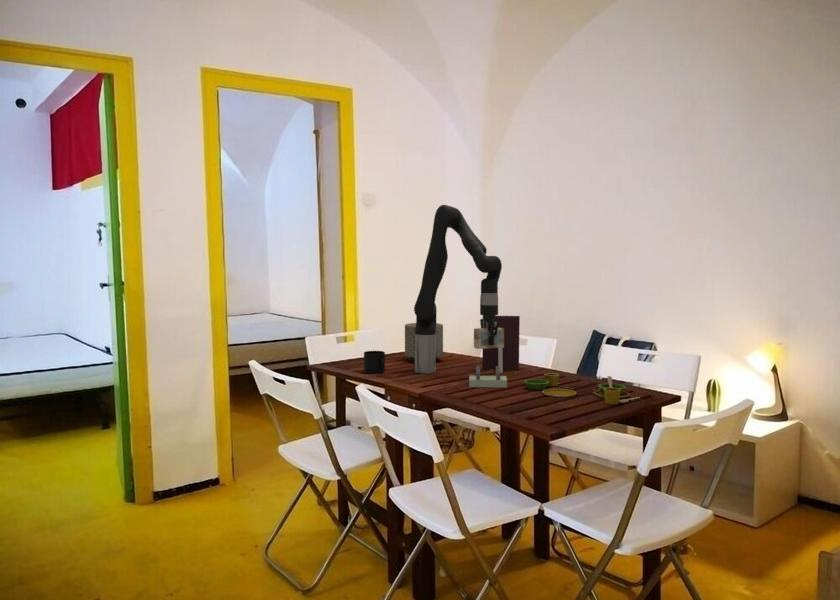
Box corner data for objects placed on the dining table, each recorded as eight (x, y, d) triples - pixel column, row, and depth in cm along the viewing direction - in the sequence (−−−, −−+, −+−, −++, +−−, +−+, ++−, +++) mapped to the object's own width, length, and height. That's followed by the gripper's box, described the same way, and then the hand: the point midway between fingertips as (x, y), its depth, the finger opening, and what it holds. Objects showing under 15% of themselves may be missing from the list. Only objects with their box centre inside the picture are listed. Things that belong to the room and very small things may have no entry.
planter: (450, 360, 318) (450, 324, 317) (424, 365, 304) (424, 327, 303) (423, 356, 331) (423, 321, 330) (396, 361, 317) (396, 324, 316)
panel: (477, 348, 263) (477, 329, 263) (473, 347, 267) (473, 328, 267) (504, 347, 267) (504, 328, 266) (499, 346, 271) (500, 327, 270)
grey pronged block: (469, 387, 254) (469, 369, 254) (469, 382, 263) (469, 365, 263) (507, 387, 253) (507, 370, 253) (505, 383, 262) (506, 366, 262)
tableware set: (648, 400, 233) (648, 383, 233) (596, 410, 218) (596, 392, 218) (565, 381, 268) (565, 367, 267) (515, 389, 253) (515, 373, 252)
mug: (374, 375, 279) (374, 355, 278) (359, 371, 288) (359, 351, 288) (392, 373, 285) (392, 353, 284) (377, 369, 294) (377, 350, 293)
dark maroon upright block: (518, 369, 293) (519, 315, 291) (520, 373, 283) (520, 317, 281) (482, 369, 294) (482, 315, 292) (482, 373, 285) (482, 317, 283)
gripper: (504, 304, 260) (504, 346, 261) (490, 302, 274) (490, 341, 275) (487, 305, 258) (487, 347, 259) (474, 302, 271) (474, 342, 273)
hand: (488, 344), depth 267 cm, fingers closed on panel, 4 cm apart
